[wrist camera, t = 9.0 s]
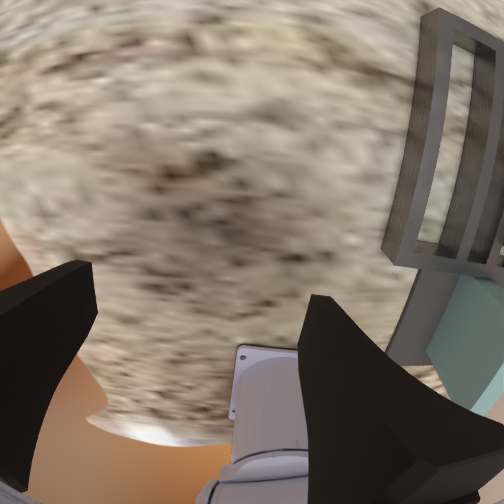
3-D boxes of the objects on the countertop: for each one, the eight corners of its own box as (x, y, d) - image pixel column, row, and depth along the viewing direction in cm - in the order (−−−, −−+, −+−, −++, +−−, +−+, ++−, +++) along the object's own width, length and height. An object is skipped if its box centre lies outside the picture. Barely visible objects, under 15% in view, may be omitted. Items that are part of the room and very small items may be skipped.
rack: (507, 269, 20) (523, 283, 18) (381, 248, 20) (393, 265, 18) (546, 88, 14) (566, 90, 11) (420, 16, 14) (439, 7, 11)
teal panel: (447, 350, 23) (484, 416, 16) (425, 351, 23) (461, 421, 16) (484, 270, 20) (542, 329, 13) (463, 267, 20) (522, 329, 13)
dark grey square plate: (465, 361, 24) (467, 363, 24) (380, 362, 24) (381, 365, 24) (510, 269, 20) (513, 272, 20) (423, 255, 20) (426, 257, 20)
